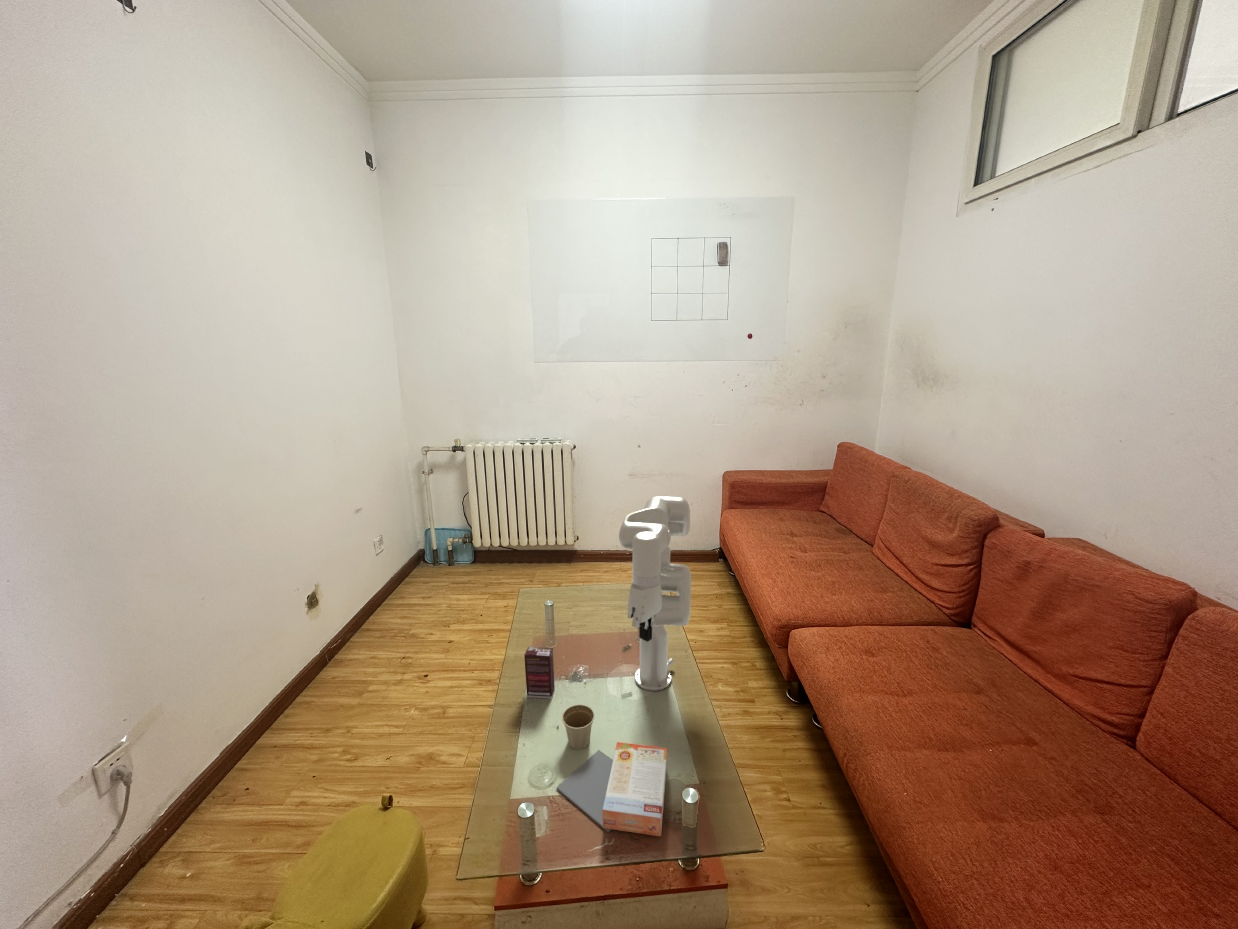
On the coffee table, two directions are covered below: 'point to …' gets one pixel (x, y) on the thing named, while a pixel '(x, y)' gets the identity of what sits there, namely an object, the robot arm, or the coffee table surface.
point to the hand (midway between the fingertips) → (645, 638)
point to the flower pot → (578, 725)
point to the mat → (589, 786)
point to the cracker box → (636, 789)
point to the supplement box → (539, 672)
